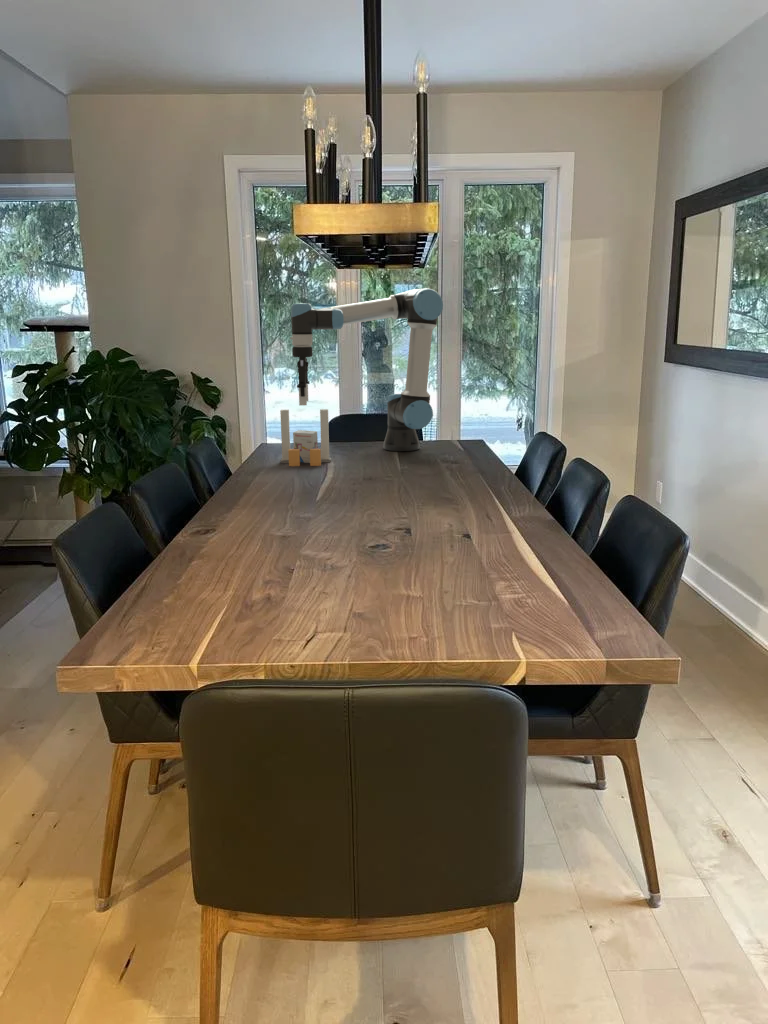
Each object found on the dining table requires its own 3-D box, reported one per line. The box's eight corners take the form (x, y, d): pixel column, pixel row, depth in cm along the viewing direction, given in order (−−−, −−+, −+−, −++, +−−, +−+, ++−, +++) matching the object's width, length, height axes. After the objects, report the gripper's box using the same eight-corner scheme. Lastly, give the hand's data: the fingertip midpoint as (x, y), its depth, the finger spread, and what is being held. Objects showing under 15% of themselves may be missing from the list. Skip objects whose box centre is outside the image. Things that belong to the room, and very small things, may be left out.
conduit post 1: (292, 460, 298) (290, 409, 293) (291, 462, 294) (290, 410, 289) (281, 460, 298) (279, 409, 293) (280, 463, 294) (278, 410, 289)
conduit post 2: (331, 460, 299) (330, 408, 294) (331, 462, 295) (329, 410, 289) (319, 460, 299) (318, 409, 294) (319, 462, 294) (318, 410, 289)
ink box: (293, 462, 295) (292, 431, 292) (298, 459, 300) (297, 429, 297) (313, 463, 293) (313, 432, 290) (318, 461, 297) (317, 430, 294)
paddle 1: (300, 464, 291) (299, 448, 289) (299, 466, 288) (299, 450, 286) (289, 464, 291) (288, 449, 289) (288, 466, 288) (288, 450, 286)
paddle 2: (321, 464, 291) (320, 448, 290) (320, 465, 288) (320, 449, 287) (310, 464, 291) (310, 448, 289) (310, 465, 288) (309, 450, 287)
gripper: (294, 344, 297) (296, 399, 302) (289, 347, 273) (291, 407, 278) (313, 344, 297) (315, 399, 303) (311, 347, 273) (312, 407, 279)
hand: (303, 403), depth 290 cm, fingers open, 13 cm apart
